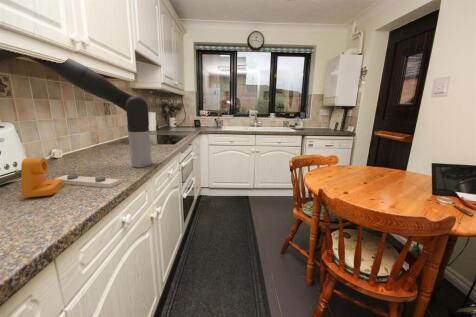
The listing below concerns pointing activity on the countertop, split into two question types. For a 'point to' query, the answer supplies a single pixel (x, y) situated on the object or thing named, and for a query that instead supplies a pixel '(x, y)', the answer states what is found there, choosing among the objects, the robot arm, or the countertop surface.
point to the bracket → (37, 178)
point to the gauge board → (89, 181)
